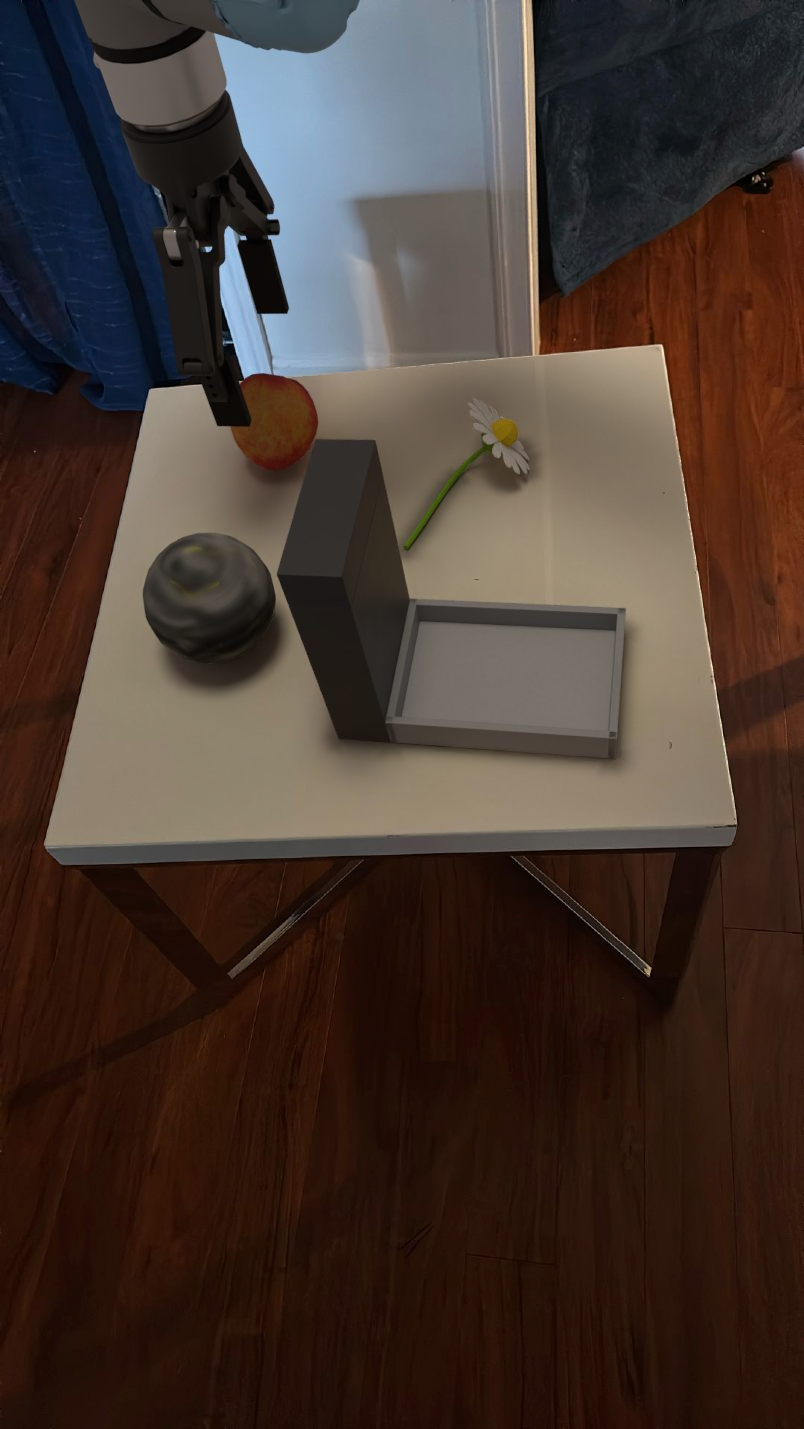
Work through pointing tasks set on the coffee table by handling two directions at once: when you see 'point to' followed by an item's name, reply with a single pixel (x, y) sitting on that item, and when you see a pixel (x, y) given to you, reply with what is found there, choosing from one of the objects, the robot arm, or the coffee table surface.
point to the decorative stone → (209, 598)
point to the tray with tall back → (435, 635)
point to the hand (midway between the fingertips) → (254, 365)
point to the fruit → (276, 421)
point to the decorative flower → (495, 440)
